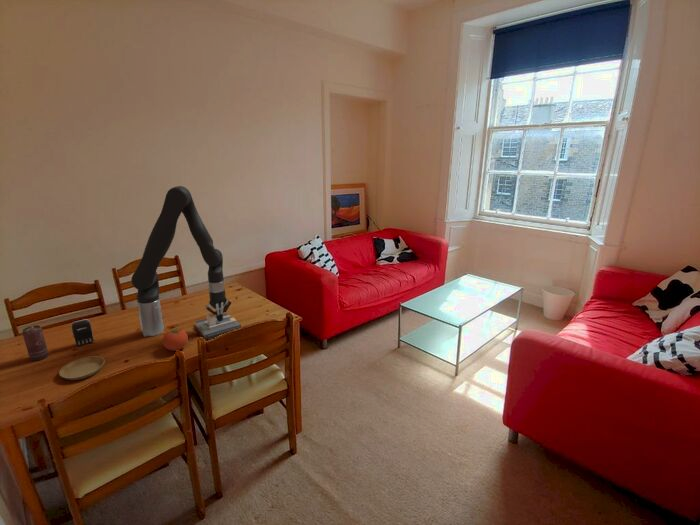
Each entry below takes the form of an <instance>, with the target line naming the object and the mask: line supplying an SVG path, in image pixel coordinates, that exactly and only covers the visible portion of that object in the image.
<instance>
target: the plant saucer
mask: <svg viewBox="0 0 700 525" xmlns="http://www.w3.org/2000/svg"><path fill="white" fill-rule="evenodd" d="M104 364H105V358H103V357H101V356H97V355H93V356H85V357H82V358H78V359H74V360H73V361H70V362H68V363H67V364H66V365H63V367H61V368H60V370H59V372H58V375H59V376H60V377H61V378H63V379H66V380H70V381H78V380H82V379H86V378H89V377H92V376H93V375H95V374H96V373H98V372H99V371H100V370H101V369H102V367H103V366H104Z"/></svg>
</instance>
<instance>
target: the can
mask: <svg viewBox="0 0 700 525" xmlns="http://www.w3.org/2000/svg"><path fill="white" fill-rule="evenodd" d="M21 334H22V336H23V340H24V341H23V342H24V344H25V348H26V351H27V353H28V354H27V355H28V358H29V360H30V361H32V362H39V361H42V360H44V359H46V358H48V356H49V351H48V346H47V343H46V339H45V336H44V331H43V327H41V326H40V325H30V326H28V327H25V328H24V329H22V333H21Z"/></svg>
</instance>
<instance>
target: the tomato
mask: <svg viewBox="0 0 700 525" xmlns="http://www.w3.org/2000/svg"><path fill="white" fill-rule="evenodd" d="M188 340H189V337H188V333H187V332H186V331H185V330H182V329H178V328H173V329H170V330H169V331H166V333H165V334H164V336H163V338H162V344H163V346H164V347H165V349H167V350H169V351H175V352H176V351H179V350H181V349H183V348H184V347H185V346H186V345H187V344H188ZM178 349H179V350H178Z"/></svg>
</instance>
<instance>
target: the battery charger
mask: <svg viewBox="0 0 700 525" xmlns="http://www.w3.org/2000/svg"><path fill="white" fill-rule="evenodd" d="M71 330H72V331H71V332H72V336H73V338H74V341H75V346H77V347H81V346H86V345H90V344H92V343H94V341H95V339H94V335H93V329H92V324H91V321H90V320H89V319H87V318H84V319H81V320H76V321H73V322H72V323H71Z"/></svg>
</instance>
